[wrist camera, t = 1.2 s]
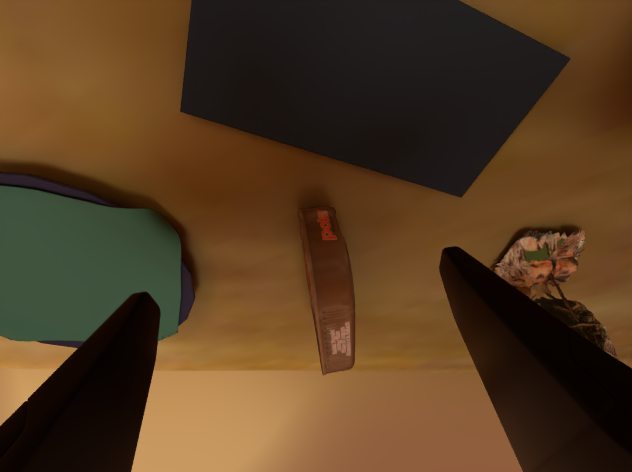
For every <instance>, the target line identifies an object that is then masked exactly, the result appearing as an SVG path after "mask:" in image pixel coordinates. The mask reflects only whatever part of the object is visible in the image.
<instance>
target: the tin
mask: <svg viewBox="0 0 632 472" xmlns="http://www.w3.org/2000/svg"><path fill="white" fill-rule="evenodd" d="M298 217H299V222H300V231H301V238H302V245H303V252H304V259H305V267H306V274H307V281H308V288H309V294H310V301H311V307H312V313H313V319H314V325H315V330H316V336H317V343H318V350H319V355H320V362H321V368H322V373H323V375H326V374H327V373H332V372H338V371H344V370H348V369H351V368H352V367H353V366H354V362H355V297H354V286H353V277H352V271H351V265H350V259H349V254H348V250H347V246H346V243H345V240H344V238H343V236H342V234H341V232H340V229H339V225H338V222H337V219H336V211H335V208H334V207H332V206H325V207H316V208H309V209H301V208H299V209H298Z"/></svg>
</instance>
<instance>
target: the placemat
mask: <svg viewBox="0 0 632 472" xmlns="http://www.w3.org/2000/svg"><path fill="white" fill-rule="evenodd" d="M569 60H570V58H569V57H567V56H565V55H563V54H561V53H559V52H557V51H555V50H553V49H551V48H550V47H548V46H546V45H544V44H542V43H540V42H538V41H536V40H534V39H532V38H530V37H528V36H526V35H525V34H523V33H521V32H519V31H517V30H515V29H513V28H511V27H509V26H507V25H505V24H503V23H501V22H499V21H498V20H496V19H494V18H492V17H490V16H488V15H486V14H484V13H482V12H480V11H478V10H476V9H474V8H472V7H471V6H469V5H467V4H465V3H463V2H461V1H459V0H192V4H191V14H190V23H189V33H188V42H187V52H186V62H185V71H184V81H183V90H182V100H181V110H180V111H181V112H184V113H187V114H190V115H193V116H197V117H200V118H203V119H206V120H210V121H213V122H216V123H220V124H223V125H226V126H229V127H233V128H236V129H239V130H242V131H246V132H249V133H252V134H255V135H259V136H262V137H265V138H269V139H272V140H275V141H278V142H282V143H285V144H288V145H291V146H295V147H298V148H301V149H305V150H308V151H311V152H314V153H318V154H321V155H324V156H327V157H331V158H334V159H337V160H340V161H344V162H347V163H350V164H354V165H357V166H360V167H363V168H367V169H370V170H373V171H376V172H380V173H383V174H386V175H389V176H393V177H396V178H399V179H403V180H406V181H409V182H412V183H416V184H419V185H422V186H425V187H429V188H432V189H435V190H439V191H442V192H445V193H448V194H452V195H455V196H458V197H462V196H463V195H464V193H465V192H466V191H467V190H468V188H469V187H470V186H471V184H472V183H473V182H474V181H475V179H476V178H477V177H478V176H479V174H480V173H481V172H482V171H483V169H484V168H485V167H486V165H487V164H488V163H489V162H490V160H491V159H492V158H493V157H494V155H495V154H496V153H497V152H498V150H499V149H500V148H501V147H502V145H503V144H504V143H505V141H506V140H507V139H508V138H509V136H510V135H511V134H512V133H513V131H514V130H515V129H516V128H517V126H518V125H519V124H520V122H521V121H522V120H523V119H524V117H525V116H526V115H527V114H528V112H529V111H530V110H531V109H532V107H533V106H534V105H535V103H536V102H537V101H538V100H539V98H540V97H541V96H542V95H543V93H544V92H545V91H546V90H547V88H548V87H549V86H550V85H551V83H552V82H553V81H554V79H555V78H556V77H557V76H558V74H559V73H560V72H561V71H562V69H563V68H564V67H565V66H566V64H567V63H568V62H569Z"/></svg>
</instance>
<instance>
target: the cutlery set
mask: <svg viewBox="0 0 632 472" xmlns="http://www.w3.org/2000/svg"><path fill="white" fill-rule="evenodd" d="M138 292H148V293H149V294H150V295H151V296H152V298H153V299H154V300H155V302H156V303H157V304H158V305H159V307H160V310H161V316H160V326H159V335H158V341H159V340H162V339H164V338H166V337H168V336H171V335H174V334H176V333H177V332H178V326H179V325H180V324H182V323H183V322H184V321H185V320H186V319H187V318H188V315H189V312H190V310H191V307H192V305H193V302H194V299H195V294H194V288H193V283H192V277H191V271H190V270H189V268H188V267H187V265H186V264H185V262H184V261H183V259H182V258H181V243H180V238H179V235H178V234H177V232H176V230H175V229H174V228H173V227H172V226H171V225H170V224H169V223H168V222H167V221H166V220H165V219H164V218H163V217H161V216H160V215H159V214H158V213H157V212H156V211H154V210H152V209H147V208H143V209H124V208H122V207H120V206H118V205H116V204H114V203H112V202H110V201H108V200H106V199H104V198H102V197H100V196H98V195H96V194H94V193H92V192H90V191H88V190H84V189H81V188H77V187H74V186H70V185H67V184H63V183H60V182H56V181H53V180H49V179H46V178H42V177H39V176H35V175H32V174H24V173H10V172H0V336H3V337H5V338H8V339H10V340H16V341H37V342H40V343H45V344H52V345H59V346H67V347H74V348H79V347H80V346H81V345H82V344H83V343H84V342H85V341H86V340H87V339H88V338H89V337H90V336H91V335H92V334H93V333H94V332H95V331H96V330H97V329H98V328H99V326H100V325H101V324H102V323H103V322H104V321H105V320H106V319H107V318H108V317H109V316H110V315H111V314H112V313H113V312H114V311H115V310H116V309H117V308H118V307H119V306H120V305H121V304H122V303H123V302H124V301H125V300H126V299H127V298H128V297H129V296H130V295H131V294H133V293H138Z"/></svg>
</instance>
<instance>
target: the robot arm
mask: <svg viewBox="0 0 632 472" xmlns="http://www.w3.org/2000/svg"><path fill="white" fill-rule="evenodd" d="M439 270H440V275H441V278H442V281H443V284H444V288H445V291H446V294H447V297H448V300H449V304H450V307H451V310H452V313H453V316H454V319H455V321H456V324H457V326H458V328H459V331H460V333H461V335H462V337H463V339H464V342H465V344H466V346H467V348H468V351H469V353H470V355H471V357H472V359H473V362H474V364H475V366H476V368H477V371H478V373H479V375H480V377H481V379H482V382H483V384H484V386H485V388H486V390H487V393H488V395H489V397H490V399H491V402H492V404H493V406H494V408H495V410H496V413H497V415H498V417H499V419H500V422H501V424H502V426H503V428H504V430H505V433H506V435H507V437H508V439H509V441H510V444H511V446H512V448H513V450H514V453H515V455H516V457H517V459H518V462H519V464H520V466H521V468H522V470H523V472H632V368H630V367H629V366H627V365H625V364H624V363H622V362H621V361H619V360H618V359H616V358H615V357H613V356H611V355H610V354H608V353H607V352H605V351H604V350H602V349H601V348H600V347H598V346H597V345H595V344H594V343H592V342H591V341H589V340H588V339H586V338H585V337H584V336H582V335H581V334H579V333H578V332H577V331H575V330H574V329H572V328H571V327H569V328H568V325H567V324H565V323H564V322H563V321H561V320H560V319H558V318H557V317H556V316H554V315H553V314H551V313H550V312H549V311H547V310H546V309H544V308H543V307H542V306H540V305H539V304H538V303H536V302H535V301H533V300H532V299H531V298H529V297H528V296H526V295H525V294H524V293H522V292H521V291H519V290H518V289H517V288H515V287H514V286H512V285H511V284H510V283H508V282H507V281H505V280H504V279H503V278H501V277H500V276H499V275H497V274H496V273H494V272H493V271H492V270H490V269H489V268H487V267H486V266H485V265H483V264H482V263H480V262H479V261H478V260H476V259H475V258H473V257H472V256H471V255H469V254H468V253H467V252H465V251H464V250H462V249H461V248H459V247H457V246H454V247H447V248H444V249H443V250H442V255H441V260H440V266H439ZM160 316H161V310H160V307H159V305H158V304H157V303H156V302H155V300H154V299H153V298H152V296H151V295H150V294H149V293H148V292H138V293H133V294H131V295H130V296H129V297H128V298H127V299H126V300H125V301H124V302H123V303H122V304H121V305H120V306H119V307H118V308H117V309H116V310H115V311H114V312H113V313H112V314H111V315H110V316H109V317H108V318H107V319H106V320H105V321H104V322H103V323H102V324H101V325H100V326H99V328H98V329H97V330H96V331H95V332H94V333H93V334H92V335H91V336H90V337H89V338H88V339H87V340H86V341H85V342H84V343H83V344H82V345H81V346H80V347H79V348H78V349H77V350H76V351H75V352H74V353H73V354H72V355H71V356H70V357H69V358H68V359H67V360H66V361H65V362H64V363H63V364H62V365H61V366H60V367H59V368H58V369H57V370H56V371H55V372H54V373H53V374H52V375H51V376H50V377H49V378H48V379H47V380H46V381H45V382H44V383H43V384H42V385H41V386H40V387H39V388H38V389H37V390H36V391H35V392H34V393H33V394H32V395H31V396H30V397H29V398H28V401H25V402H24V403H23V404H22V405H21V406H20V407H19V408H18V409H17V410H16V411H15V412H14V413H13V414H12V415H11V416H10V417H9V418H8V419H7V420H6V421H5V422H4V423H3V424H2V425H1V426H0V472H131V469H132V465H133V460H134V456H135V451H136V447H137V442H138V438H139V433H140V429H141V424H142V420H143V415H144V411H145V406H146V402H147V397H148V393H149V388H150V384H151V379H152V374H153V370H154V366H155V360H156V354H157V345H158V335H159V326H160Z"/></svg>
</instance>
